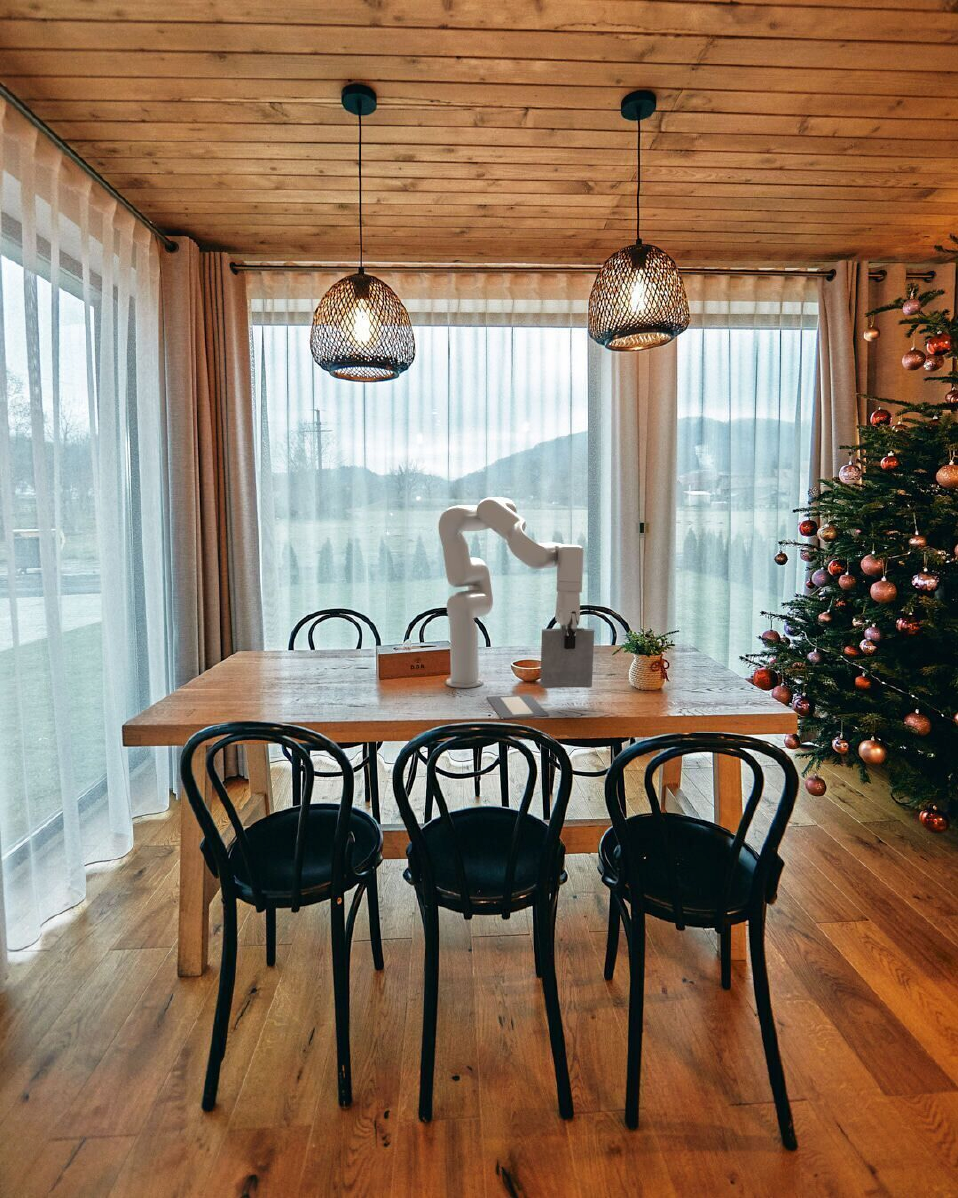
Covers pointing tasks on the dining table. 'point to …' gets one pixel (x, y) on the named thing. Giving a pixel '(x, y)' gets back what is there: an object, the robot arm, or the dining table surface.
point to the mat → (516, 706)
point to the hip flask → (566, 659)
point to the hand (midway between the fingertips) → (567, 646)
